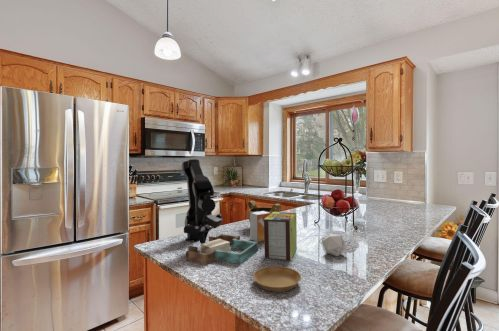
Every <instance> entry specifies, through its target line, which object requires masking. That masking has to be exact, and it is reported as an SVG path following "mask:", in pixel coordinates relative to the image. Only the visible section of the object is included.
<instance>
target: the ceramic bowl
mask: <svg viewBox="0 0 499 331" xmlns="http://www.w3.org/2000/svg"><path fill="white" fill-rule="evenodd" d="M247 206H248V212H247V213H248V215H247V217H248V221H249V223H250V213H253V212H260V211H265V212H269V213H272V212H281V209H282V208H281V204H280V203H274V204H273V205H272V206H257V203H256V201H255V200H250V201H248V202H247Z"/></svg>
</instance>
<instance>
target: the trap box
mask: <svg viewBox="0 0 499 331" xmlns="http://www.w3.org/2000/svg"><path fill="white" fill-rule="evenodd" d="M217 239H222V240H225V241H228V242H230V248H231V249H238V250H242V251H241V252H240V253H239V252H234V251H233V252H231V251H228V252H227V251H220V250H213V251H211V252H210V253H208V254H205V253H201V252H199V251H198V250H199V248H198V246H193V245H188V246H187V250H186V251H185V255H186V256H185V259H186V262H193V263H197V264H203V265H210V264H211V263H213V262H215V261H219V262H220V261H221V262H225V263H233V264H238V265H242V264H243V263H244V262H245V261H247V260H249V258H251V257H253V255H255V253H256V252H258V251H259V242H256V241H253V240H251V241H250V240H245V239H244V240H242V239H241V236H239V235H232V234H231V235H230V234H223V233H220V234H218V235H217V236H211V235H210V236H208V242H209V241H213V240H217Z"/></svg>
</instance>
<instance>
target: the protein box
mask: <svg viewBox="0 0 499 331" xmlns="http://www.w3.org/2000/svg"><path fill="white" fill-rule="evenodd" d="M297 231H298V230H297V213H296V212H284V211H283V212H282V211H279V212H272V213H271V214H270V215H268V216H267V217H266V218H265V219H264V241H263V242H264V259H270V260H280V261H287V262H288V261H289V262H290V261H291V260H292V258H293V256H294V255H295V252H296V250H297V248H298V246H297V241H298V240H297V236H298V235H297Z"/></svg>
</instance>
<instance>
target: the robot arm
mask: <svg viewBox="0 0 499 331" xmlns="http://www.w3.org/2000/svg"><path fill="white" fill-rule="evenodd" d="M200 164H201V162H200V159H198V158H197V159H196V158H192V159H191V158H189V159H187V160H186V161H182V163H181V166H180V167H181V168H180V170H181V171H182V174H183V176H184V177H185V179H186V183H187V197H188V210H187V212H186V216H185V219H184V227H183V233H184V234H187V235H186V236H187V237H186V238H185V241H189V242H198V241H199V243H200V245H201V244H202V243H206V240H207V237H208V234H209V232H210V231H211V230H212V229H216V228H219V227H220V226H221V223H223V220H224V219H223V215H222V214H221V213H217V214H214V215H213V213H212V212H213V211H214V210H215V208H216V202H215V200H214V199H213V198H211V197H213V196H215V195H214V194H215V190H214V187H213V184H212V182H211V181H210V179H209V177H208V176H205V175H204V173H203V170H202V168H201V165H200Z"/></svg>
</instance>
